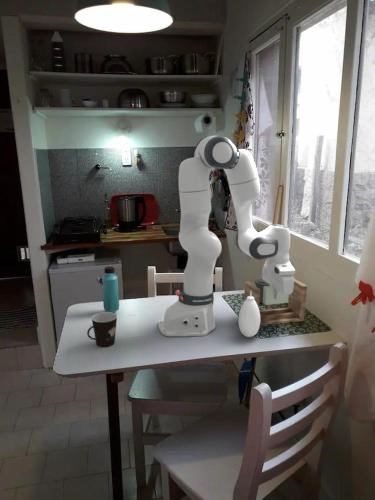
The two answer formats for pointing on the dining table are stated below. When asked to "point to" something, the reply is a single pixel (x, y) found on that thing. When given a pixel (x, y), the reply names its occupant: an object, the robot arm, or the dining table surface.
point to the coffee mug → (104, 328)
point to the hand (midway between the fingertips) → (275, 297)
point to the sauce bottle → (249, 317)
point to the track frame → (284, 314)
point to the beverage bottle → (110, 290)
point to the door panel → (272, 296)
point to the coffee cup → (261, 287)
